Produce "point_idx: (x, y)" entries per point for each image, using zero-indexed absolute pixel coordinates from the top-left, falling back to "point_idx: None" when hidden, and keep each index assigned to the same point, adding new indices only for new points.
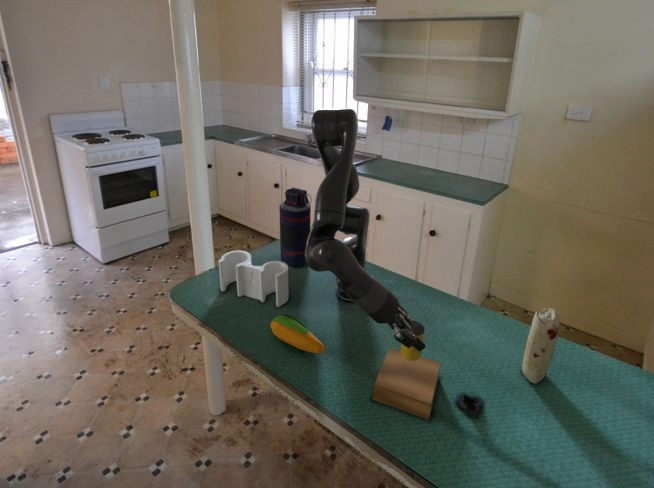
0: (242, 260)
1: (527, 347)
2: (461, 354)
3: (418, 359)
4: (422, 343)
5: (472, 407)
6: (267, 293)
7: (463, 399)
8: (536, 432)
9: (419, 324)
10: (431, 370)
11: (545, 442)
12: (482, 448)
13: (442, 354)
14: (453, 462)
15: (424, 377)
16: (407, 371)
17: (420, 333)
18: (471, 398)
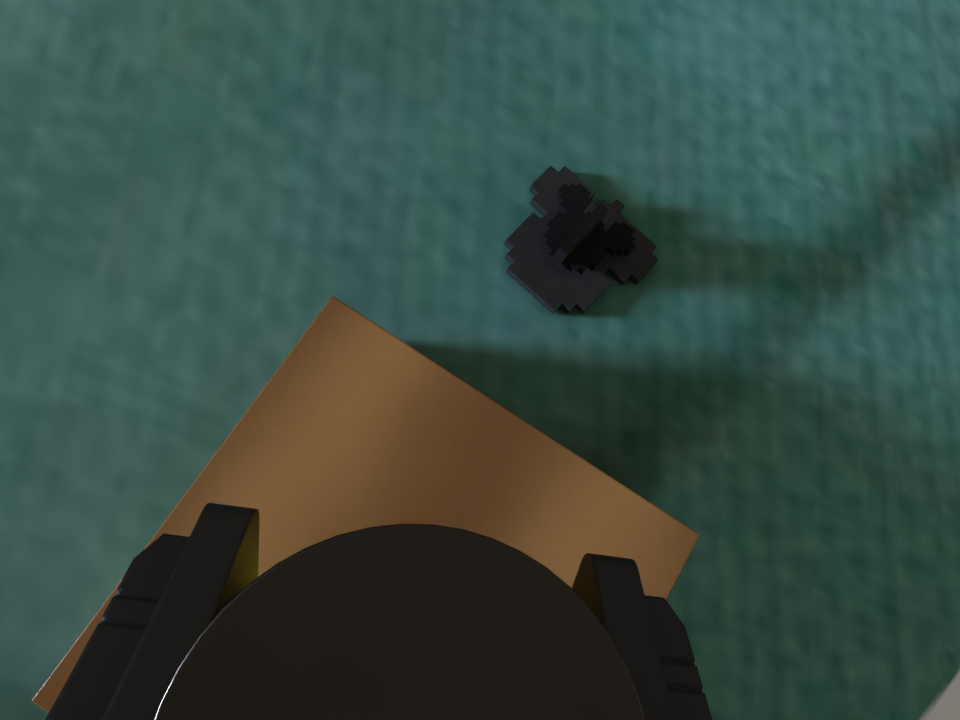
0: None
1: None
2: (176, 92)
3: (255, 465)
4: (648, 627)
5: (625, 244)
6: None
7: (542, 263)
8: (757, 17)
9: (327, 599)
10: (395, 403)
11: (806, 13)
12: (825, 314)
13: (141, 215)
14: (892, 500)
15: (455, 489)
16: None
17: (631, 692)
18: (593, 222)
